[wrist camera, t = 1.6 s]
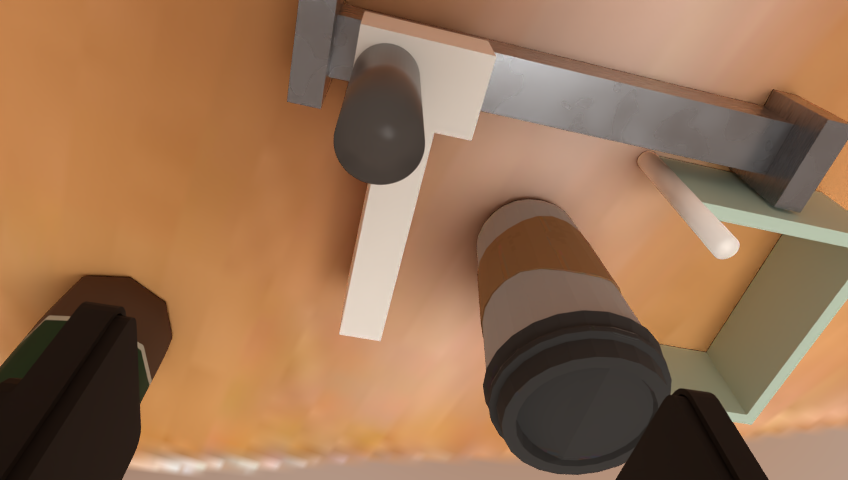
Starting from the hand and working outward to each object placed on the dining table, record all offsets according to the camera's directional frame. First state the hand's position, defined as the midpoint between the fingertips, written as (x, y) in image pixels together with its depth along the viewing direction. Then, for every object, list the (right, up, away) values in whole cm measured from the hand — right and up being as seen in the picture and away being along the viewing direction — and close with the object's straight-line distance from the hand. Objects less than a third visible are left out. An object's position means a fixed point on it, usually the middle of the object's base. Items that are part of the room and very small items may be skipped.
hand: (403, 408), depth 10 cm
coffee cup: (+7, +3, +27) cm, 28 cm away
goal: (+18, +1, +29) cm, 34 cm away
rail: (+8, +12, +22) cm, 26 cm away
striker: (-1, +7, +22) cm, 23 cm away
